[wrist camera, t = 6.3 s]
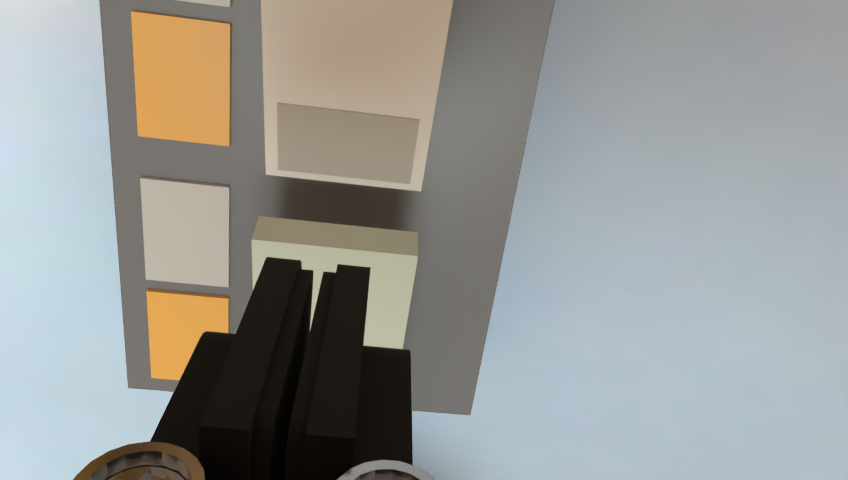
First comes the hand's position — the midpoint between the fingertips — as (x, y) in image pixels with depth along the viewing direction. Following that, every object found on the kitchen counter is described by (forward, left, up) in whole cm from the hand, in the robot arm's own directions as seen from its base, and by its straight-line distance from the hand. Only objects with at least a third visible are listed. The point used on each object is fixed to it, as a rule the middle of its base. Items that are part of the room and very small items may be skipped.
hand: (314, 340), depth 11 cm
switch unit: (+1, +2, -17) cm, 17 cm away
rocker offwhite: (0, -3, -10) cm, 11 cm away
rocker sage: (0, +7, -10) cm, 13 cm away
